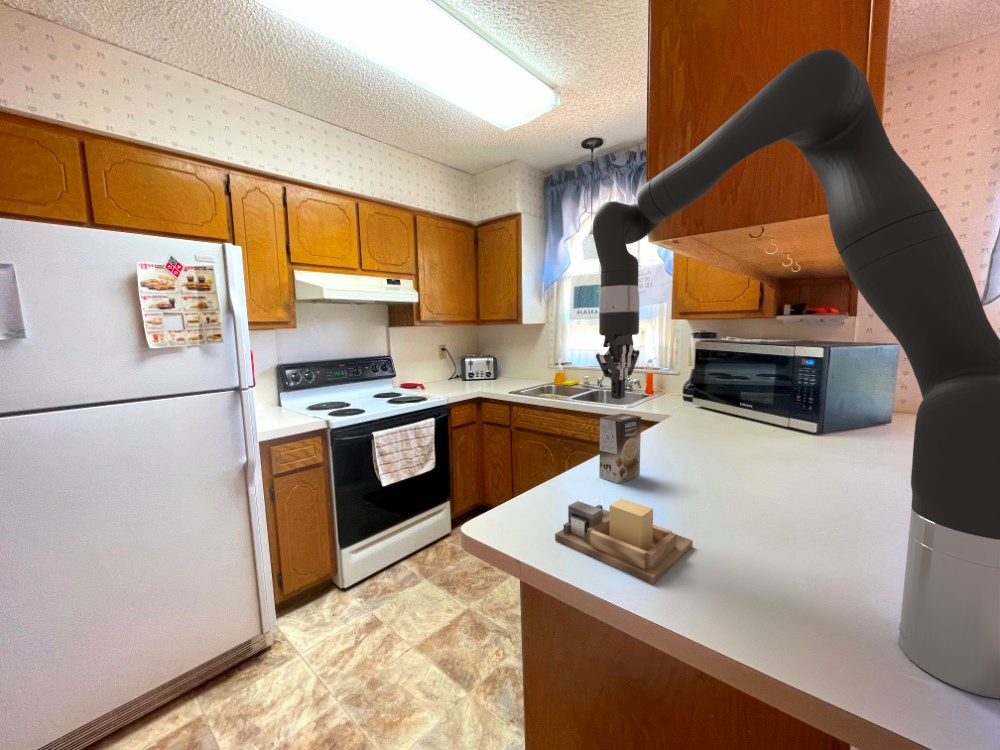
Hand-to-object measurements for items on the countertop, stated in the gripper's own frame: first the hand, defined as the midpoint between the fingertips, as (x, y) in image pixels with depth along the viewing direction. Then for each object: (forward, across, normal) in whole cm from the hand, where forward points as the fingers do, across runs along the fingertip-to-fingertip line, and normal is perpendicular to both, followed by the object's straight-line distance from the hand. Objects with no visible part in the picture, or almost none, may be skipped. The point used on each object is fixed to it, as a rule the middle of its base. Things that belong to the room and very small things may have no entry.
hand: (618, 398), depth 81 cm
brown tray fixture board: (+25, -8, -6) cm, 27 cm away
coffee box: (+25, +21, +12) cm, 35 cm away
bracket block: (+24, -10, -8) cm, 27 cm away
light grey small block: (+24, -11, 0) cm, 26 cm away
